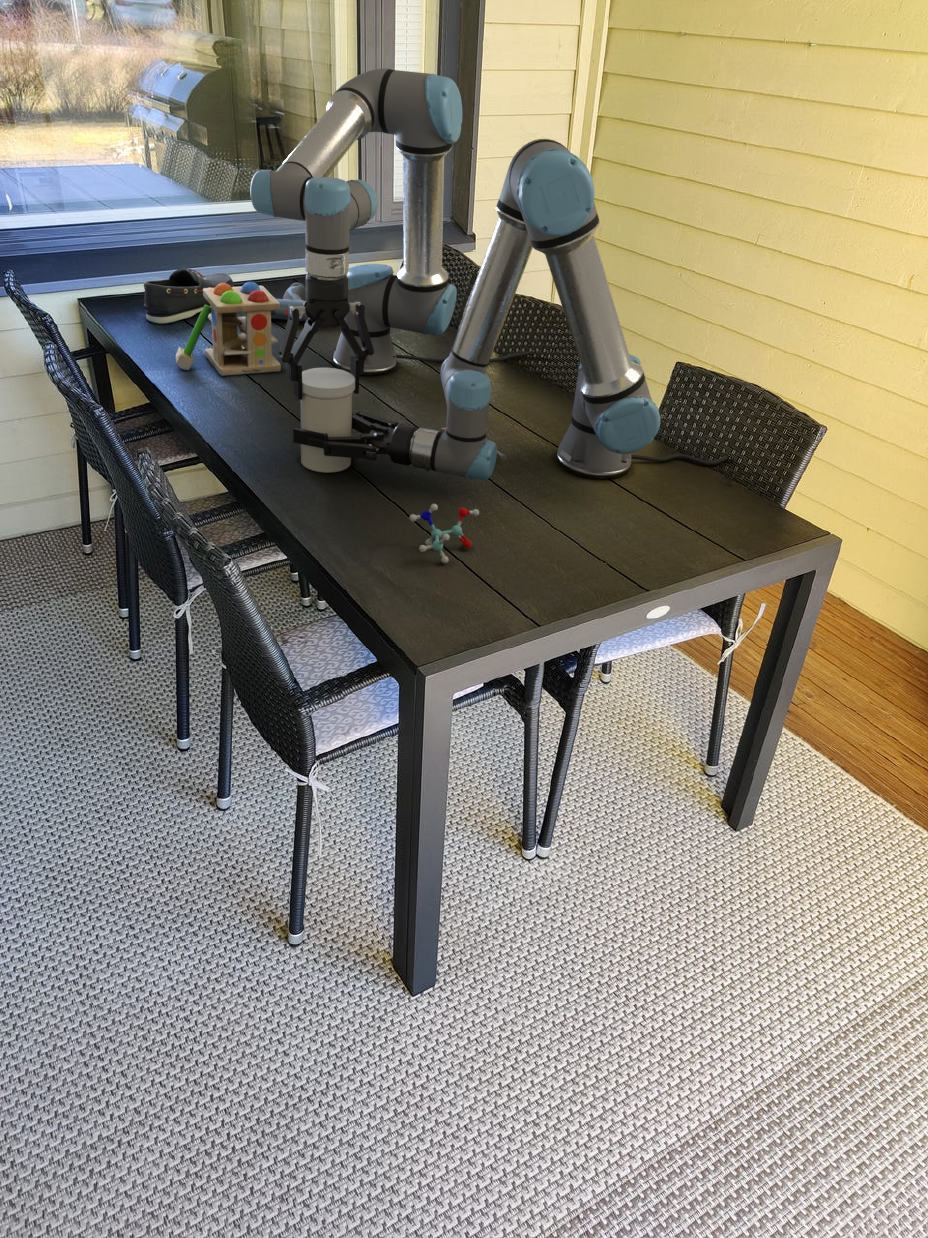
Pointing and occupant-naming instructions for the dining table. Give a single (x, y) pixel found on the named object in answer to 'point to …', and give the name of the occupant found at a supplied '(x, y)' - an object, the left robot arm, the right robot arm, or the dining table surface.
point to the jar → (325, 429)
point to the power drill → (291, 302)
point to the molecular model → (437, 533)
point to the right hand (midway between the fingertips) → (305, 424)
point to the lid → (327, 382)
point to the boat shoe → (179, 295)
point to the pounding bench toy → (229, 347)
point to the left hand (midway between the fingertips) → (326, 394)
